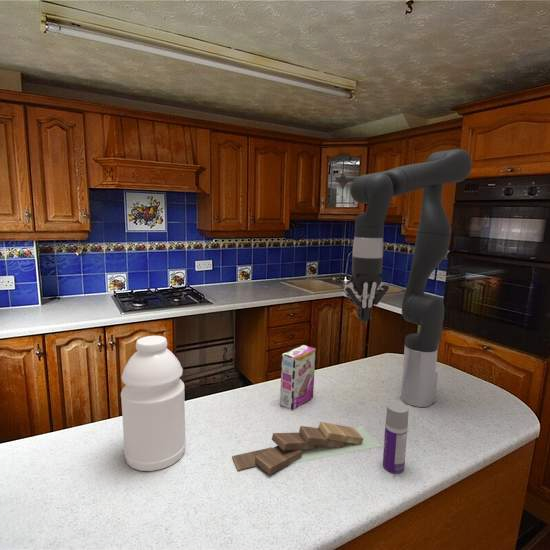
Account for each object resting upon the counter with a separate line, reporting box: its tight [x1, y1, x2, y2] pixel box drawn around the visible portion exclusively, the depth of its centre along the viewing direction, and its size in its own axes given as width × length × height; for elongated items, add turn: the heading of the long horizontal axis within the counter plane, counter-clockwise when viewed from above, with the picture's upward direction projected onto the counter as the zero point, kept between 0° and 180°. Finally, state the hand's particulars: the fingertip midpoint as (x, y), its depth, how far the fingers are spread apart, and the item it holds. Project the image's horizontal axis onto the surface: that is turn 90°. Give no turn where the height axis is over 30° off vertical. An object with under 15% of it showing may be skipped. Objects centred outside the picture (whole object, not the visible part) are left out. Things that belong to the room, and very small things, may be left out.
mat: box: [290, 425, 382, 465], centre depth 93 cm, size 24×9×1 cm, turn 108°
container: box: [382, 401, 409, 475], centre depth 83 cm, size 5×5×15 cm
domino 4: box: [298, 425, 344, 448], centre depth 92 cm, size 2×5×10 cm
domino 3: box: [255, 445, 302, 476], centre depth 85 cm, size 2×5×10 cm
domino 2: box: [271, 432, 317, 451], centre depth 90 cm, size 2×5×10 cm
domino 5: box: [317, 421, 363, 445], centre depth 93 cm, size 2×5×10 cm
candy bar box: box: [279, 344, 317, 411], centre depth 112 cm, size 11×5×16 cm, turn 141°
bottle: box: [120, 335, 187, 472], centre depth 86 cm, size 14×14×28 cm
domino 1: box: [231, 446, 273, 472], centre depth 86 cm, size 2×5×10 cm
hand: (363, 320), depth 98 cm, fingers closed
